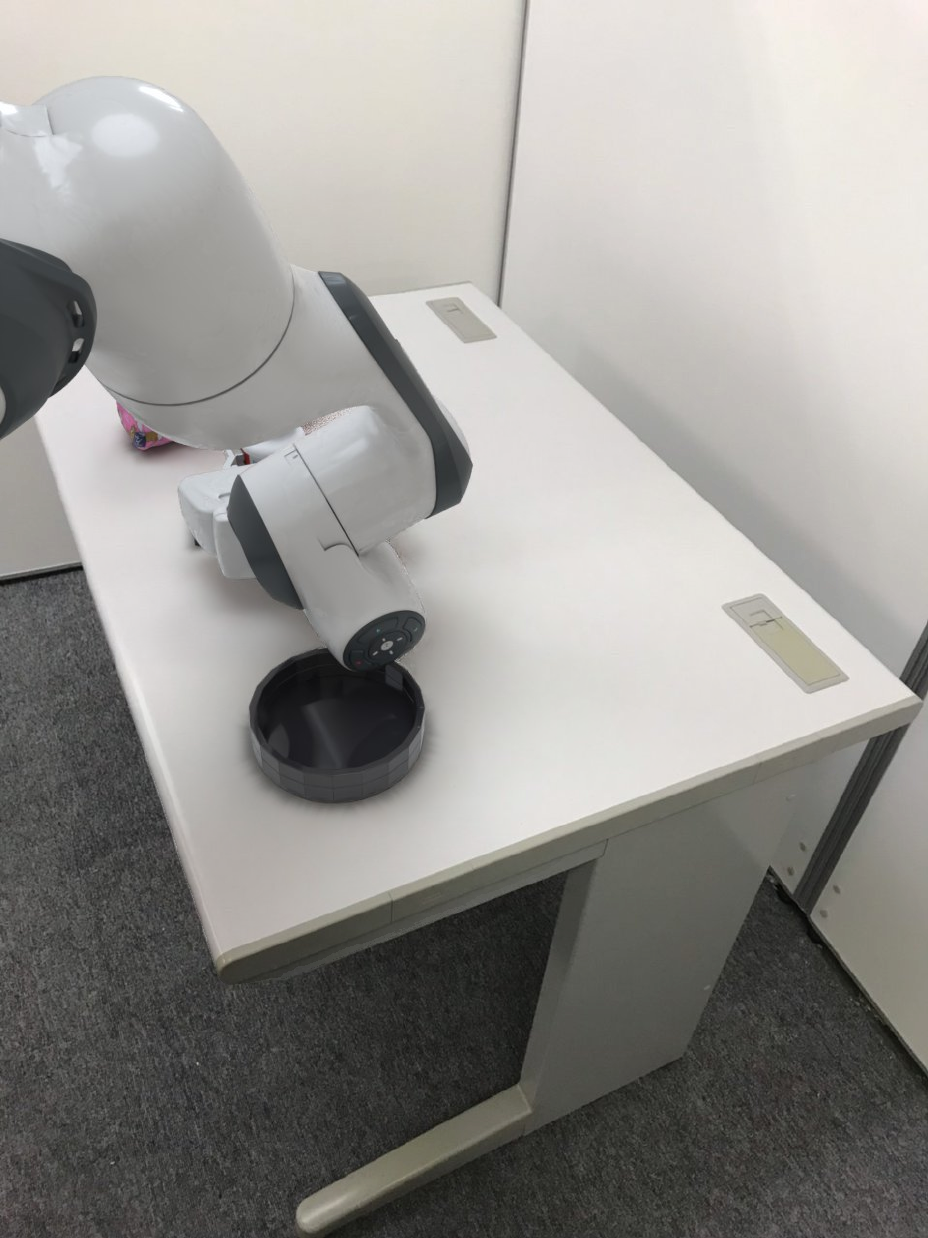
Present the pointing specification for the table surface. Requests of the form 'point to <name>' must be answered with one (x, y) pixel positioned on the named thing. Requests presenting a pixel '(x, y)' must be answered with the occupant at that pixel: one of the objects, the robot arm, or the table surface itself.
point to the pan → (336, 727)
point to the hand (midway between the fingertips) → (271, 446)
